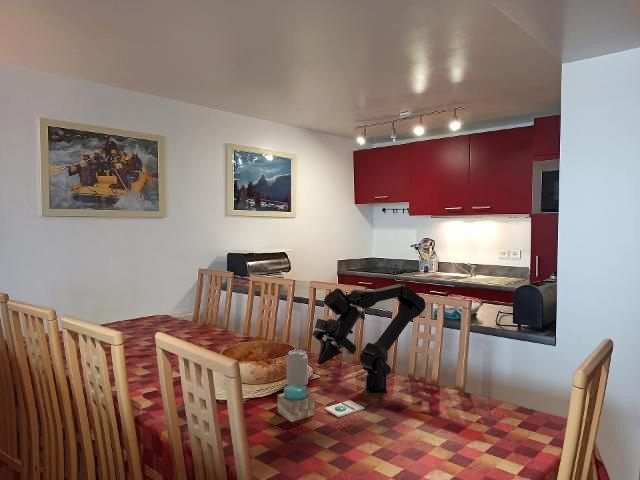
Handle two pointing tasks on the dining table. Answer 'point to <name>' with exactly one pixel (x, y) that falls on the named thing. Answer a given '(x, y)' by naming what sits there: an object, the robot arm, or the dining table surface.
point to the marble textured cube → (295, 407)
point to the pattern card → (344, 408)
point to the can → (297, 368)
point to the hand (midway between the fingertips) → (318, 364)
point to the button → (295, 392)
